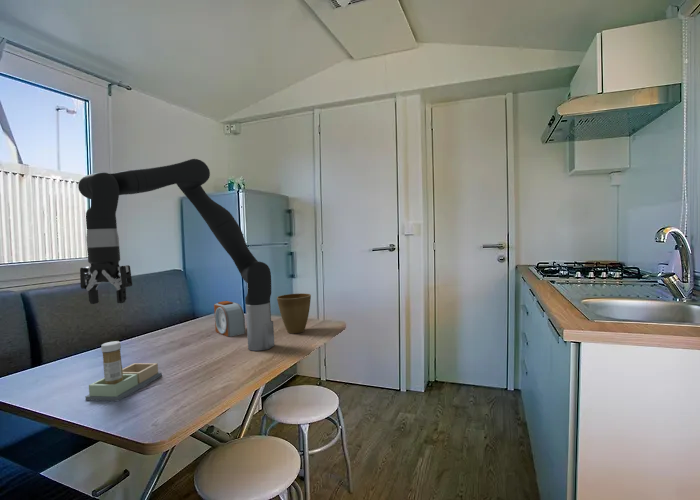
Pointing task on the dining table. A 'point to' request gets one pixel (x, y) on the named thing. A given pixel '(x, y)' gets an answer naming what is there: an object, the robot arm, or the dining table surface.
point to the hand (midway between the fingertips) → (107, 303)
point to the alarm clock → (229, 318)
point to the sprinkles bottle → (112, 362)
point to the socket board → (124, 382)
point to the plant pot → (294, 311)
